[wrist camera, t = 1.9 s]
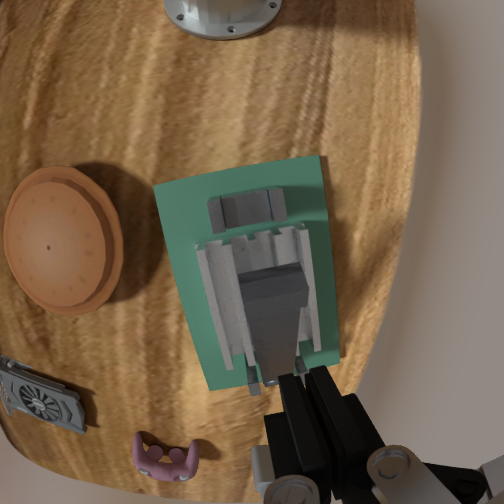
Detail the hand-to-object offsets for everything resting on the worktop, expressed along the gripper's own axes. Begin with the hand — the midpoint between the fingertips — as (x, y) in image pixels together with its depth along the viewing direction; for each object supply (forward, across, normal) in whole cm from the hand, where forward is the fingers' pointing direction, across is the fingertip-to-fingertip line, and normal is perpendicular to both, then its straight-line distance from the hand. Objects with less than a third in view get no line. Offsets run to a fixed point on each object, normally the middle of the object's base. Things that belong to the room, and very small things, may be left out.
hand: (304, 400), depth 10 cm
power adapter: (+22, +3, +31) cm, 39 cm away
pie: (+22, +19, -6) cm, 30 cm away
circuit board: (+22, 0, +3) cm, 22 cm away
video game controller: (+22, +18, +27) cm, 39 cm away
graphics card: (+23, +36, +16) cm, 45 cm away
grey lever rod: (+11, 0, +4) cm, 12 cm away
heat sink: (+20, 0, +3) cm, 21 cm away
